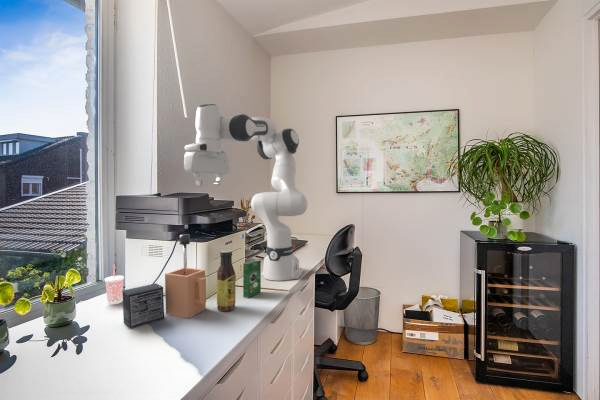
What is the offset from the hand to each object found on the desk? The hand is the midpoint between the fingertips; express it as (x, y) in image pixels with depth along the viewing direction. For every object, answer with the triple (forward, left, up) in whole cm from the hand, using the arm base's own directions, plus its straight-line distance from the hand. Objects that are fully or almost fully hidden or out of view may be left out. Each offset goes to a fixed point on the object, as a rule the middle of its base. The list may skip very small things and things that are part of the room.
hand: (208, 185), depth 124 cm
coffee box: (-8, +13, -43) cm, 45 cm away
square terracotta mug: (+15, +3, -42) cm, 45 cm away
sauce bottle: (+7, +13, -43) cm, 45 cm away
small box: (+26, -6, -43) cm, 50 cm away
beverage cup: (+18, -29, -43) cm, 54 cm away
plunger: (+15, +1, -33) cm, 36 cm away
